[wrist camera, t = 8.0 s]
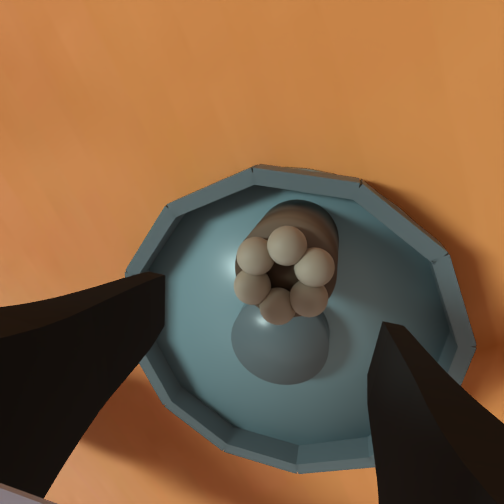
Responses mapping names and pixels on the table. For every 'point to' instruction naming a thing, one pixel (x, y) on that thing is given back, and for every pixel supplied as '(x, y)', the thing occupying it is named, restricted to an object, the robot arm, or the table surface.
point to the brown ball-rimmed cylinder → (289, 262)
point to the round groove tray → (349, 309)
